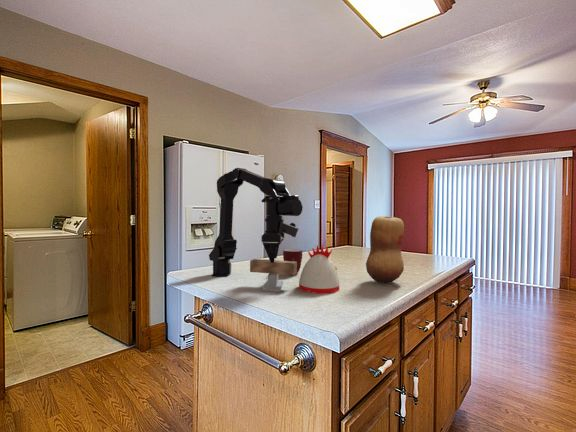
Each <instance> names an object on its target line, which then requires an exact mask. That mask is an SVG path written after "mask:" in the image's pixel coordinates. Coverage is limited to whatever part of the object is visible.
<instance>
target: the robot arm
mask: <svg viewBox="0 0 576 432" xmlns="http://www.w3.org/2000/svg"><path fill="white" fill-rule="evenodd" d="M244 182H246V183H248V184H250V185H253V186H255V187H257V188H258V189H259V190H260V192H261V193H263V194H264V195H265V196H264V198H262V200H261V203H265V218H264V222H265V230H264V233H263V234H262V235H261V242H262V245H263V247H264V251H265V252H266V254H267V256H268V260H270V262H271V263H274V260H276V259H277V257H278V253H279V250H280V245H281V244H282V242H283V241H284V240H285V234H286V235H289V236H291V237H293V238H297V237H296V236H297V233H298V232H299V229H300V228H299V227H296V223H294V222H291V223H285V222H284V221H285V220H284V218H283V217H284V216H286V217H298V216H301V214H302V213H303V204H302V203H303V202H301V199H300V198H299V195H295V194H293V195H291V194H290V191H289V190H288V189H287V187H286V184H285V183H286V182H285V181H284V180H281V179H277V178H276V179H275V178H269V177H268V178H267V177H265V176H262V175H260V174H257V173H255V172H252V171H251V170H248V169H246V168H241V167H236V168H234V169H232V170H231V171H229V172H226V173H224V174H223V175H221V176H219V178H218V179H217V180H216V192H217V194H218V196H219V199H220V211H219V229H218V230H219V232H218V236H217V237H216V238H215V241H214V245H213V249H212V250H211V251H210V252H209V255H208V257H209V258H208V259H209V261H212V273H211V277H228V276H229V275H231V273H232V262H231V260H234V257H235V254H236V250H238V248H237V242H238V241H237V239H235V238H234V236H233V219H234V218H233V217H234V214H233V213H234V199H235V197H236V196H237V194H238V192H239V188H240V187H241V186H242V185H243V184H244Z"/></svg>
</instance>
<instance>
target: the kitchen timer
mask: <svg viewBox="0 0 576 432" xmlns="http://www.w3.org/2000/svg"><path fill="white" fill-rule="evenodd" d="M307 252H308V255H309V259H308V260H307V261H306V263H305V264H304V266H303V267H302V271H301V273H300V275H299V276H300V277H299V281H298V288H299V290H300V291H301V292H302V291H303V292H306V293H310V294H318V295H321V294H322V295H323V294H333V293H337V292H338V291H340V278H339V275H338V274H339V273H338V271H337V269H338V268H337V267H336V266H335V264H334V263H333V262H332V261H331V259H330V258H329V257H330V256H331V254H332V252H333V249H331V250H330V251H329V246H328V245H327V246H326V249H325V251H324V246H323V245H321V246H320V248H319V245H318V244H317V246H316V250H315V248H314V247H312V254H311V252H310V251H307Z"/></svg>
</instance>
